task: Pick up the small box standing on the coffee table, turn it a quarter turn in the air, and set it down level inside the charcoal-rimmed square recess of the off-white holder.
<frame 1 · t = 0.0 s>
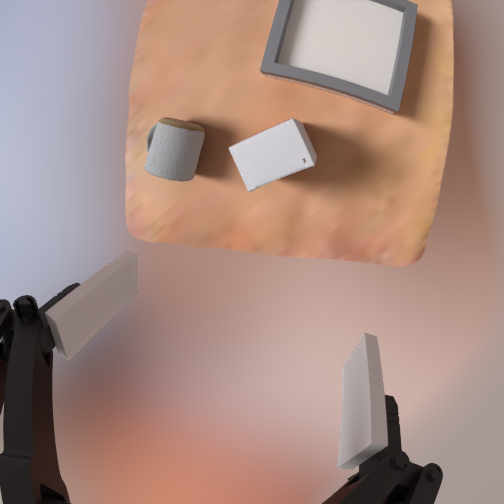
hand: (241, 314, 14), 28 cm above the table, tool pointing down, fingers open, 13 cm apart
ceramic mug: (180, 145, 40), on the table
small box: (284, 149, 37), on the table
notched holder: (342, 38, 28), on the table
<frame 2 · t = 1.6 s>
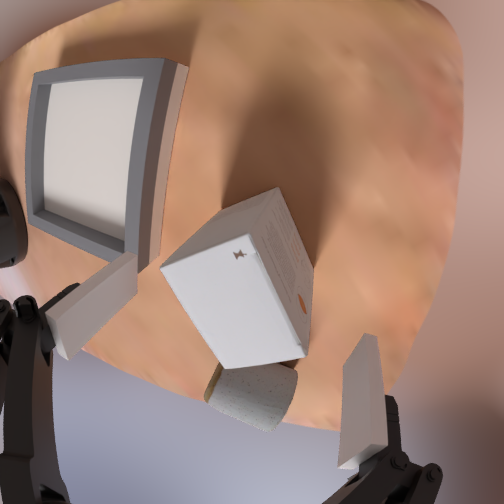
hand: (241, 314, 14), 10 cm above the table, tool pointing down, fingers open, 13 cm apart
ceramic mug: (256, 370, 31), on the table
small box: (268, 239, 24), on the table
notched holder: (97, 152, 24), on the table
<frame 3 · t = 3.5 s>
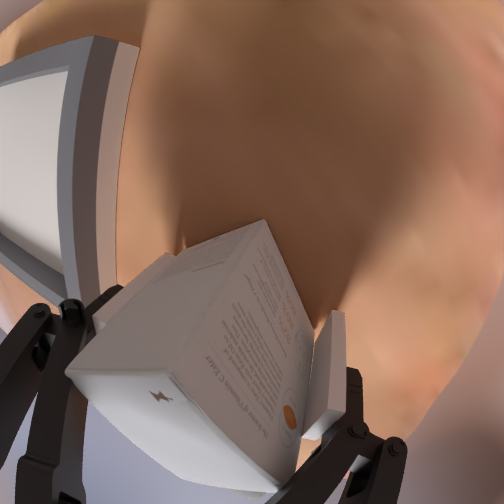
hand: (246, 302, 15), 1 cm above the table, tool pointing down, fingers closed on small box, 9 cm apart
small box: (252, 290, 17), on the table, touching gripper
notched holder: (43, 167, 17), on the table
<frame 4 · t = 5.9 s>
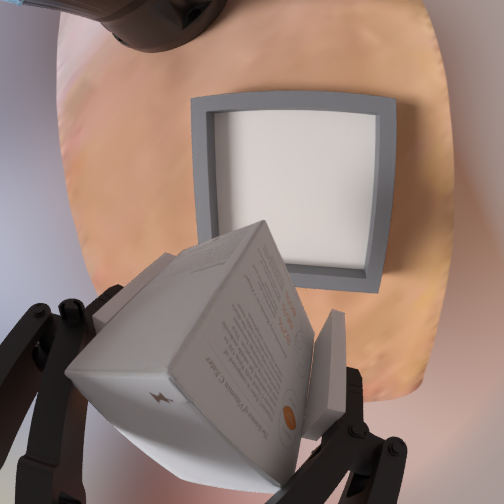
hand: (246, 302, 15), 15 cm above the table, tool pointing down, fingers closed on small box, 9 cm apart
small box: (252, 291, 17), point 14 cm above the table, touching gripper
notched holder: (295, 186, 27), on the table
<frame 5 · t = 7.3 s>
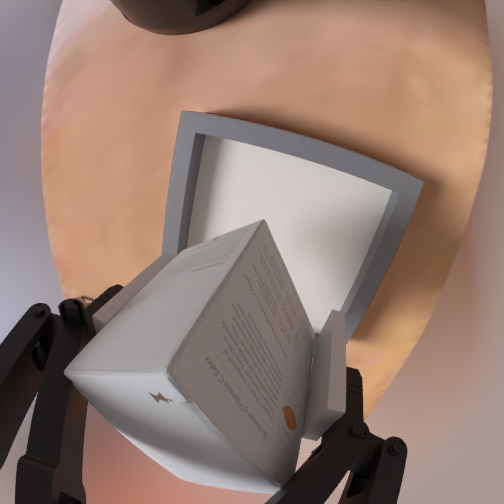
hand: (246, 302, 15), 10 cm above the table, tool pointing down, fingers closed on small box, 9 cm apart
small box: (252, 291, 17), point 9 cm above the table, touching gripper
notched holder: (277, 235, 25), on the table
when the fingers open (6 cm above the table, at t = 8.5 s): small box drops 3 cm, resting on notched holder.
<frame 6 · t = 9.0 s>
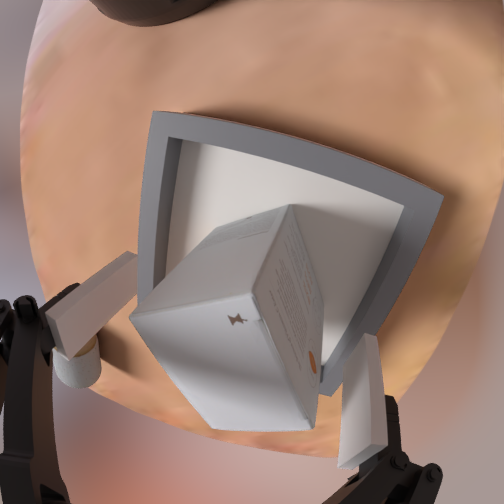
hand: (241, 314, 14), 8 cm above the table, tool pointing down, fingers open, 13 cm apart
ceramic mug: (84, 332, 34), on the table
small box: (273, 265, 19), point 2 cm above the table, touching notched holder
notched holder: (269, 255, 21), on the table
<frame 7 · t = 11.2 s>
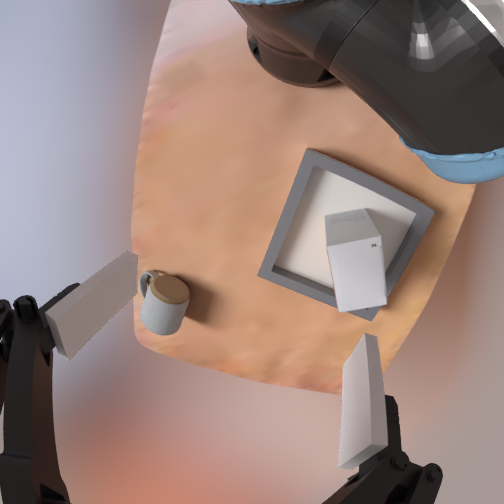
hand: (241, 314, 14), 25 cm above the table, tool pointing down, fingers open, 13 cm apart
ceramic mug: (168, 290, 49), on the table
small box: (349, 239, 35), point 2 cm above the table, touching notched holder
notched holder: (344, 234, 37), on the table
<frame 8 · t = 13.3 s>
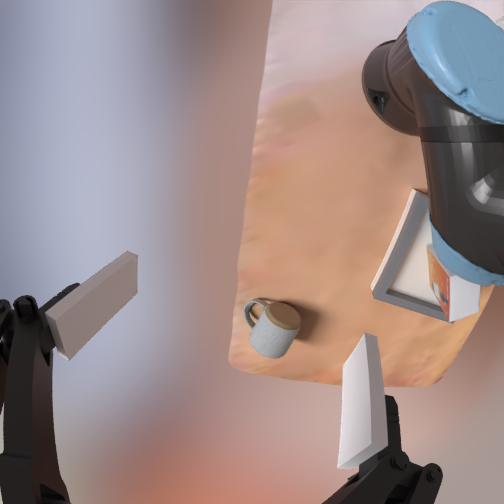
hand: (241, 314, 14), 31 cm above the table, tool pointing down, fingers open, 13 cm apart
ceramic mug: (272, 315, 52), on the table
small box: (441, 261, 38), point 2 cm above the table, touching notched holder
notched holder: (434, 256, 39), on the table
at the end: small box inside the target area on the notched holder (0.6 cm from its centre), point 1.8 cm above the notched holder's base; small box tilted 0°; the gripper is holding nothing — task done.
